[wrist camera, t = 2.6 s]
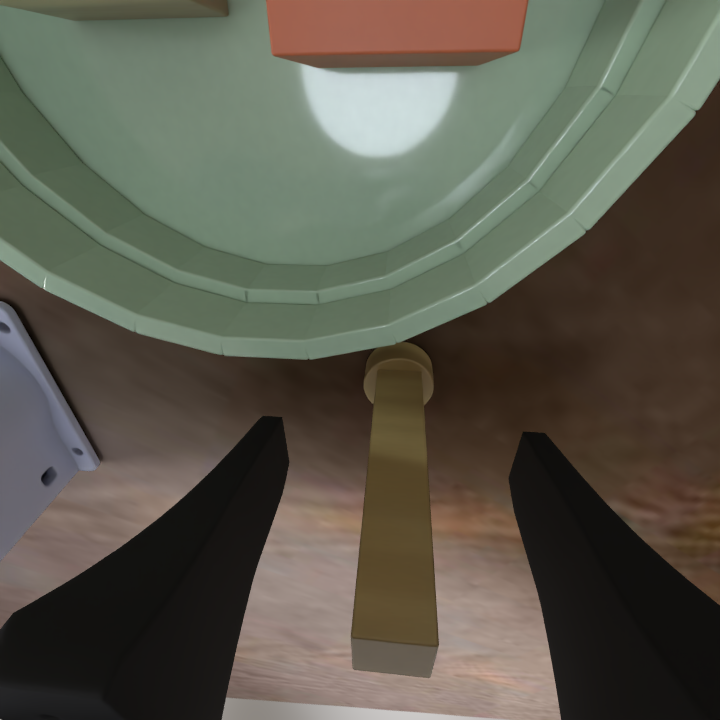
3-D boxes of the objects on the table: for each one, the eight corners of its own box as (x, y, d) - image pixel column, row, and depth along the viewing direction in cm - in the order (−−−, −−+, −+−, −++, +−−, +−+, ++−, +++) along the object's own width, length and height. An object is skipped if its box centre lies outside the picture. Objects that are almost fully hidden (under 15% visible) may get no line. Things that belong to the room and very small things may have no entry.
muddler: (429, 396, 16) (453, 690, 8) (365, 392, 16) (329, 677, 8) (435, 342, 15) (472, 637, 7) (365, 339, 15) (321, 622, 7)
